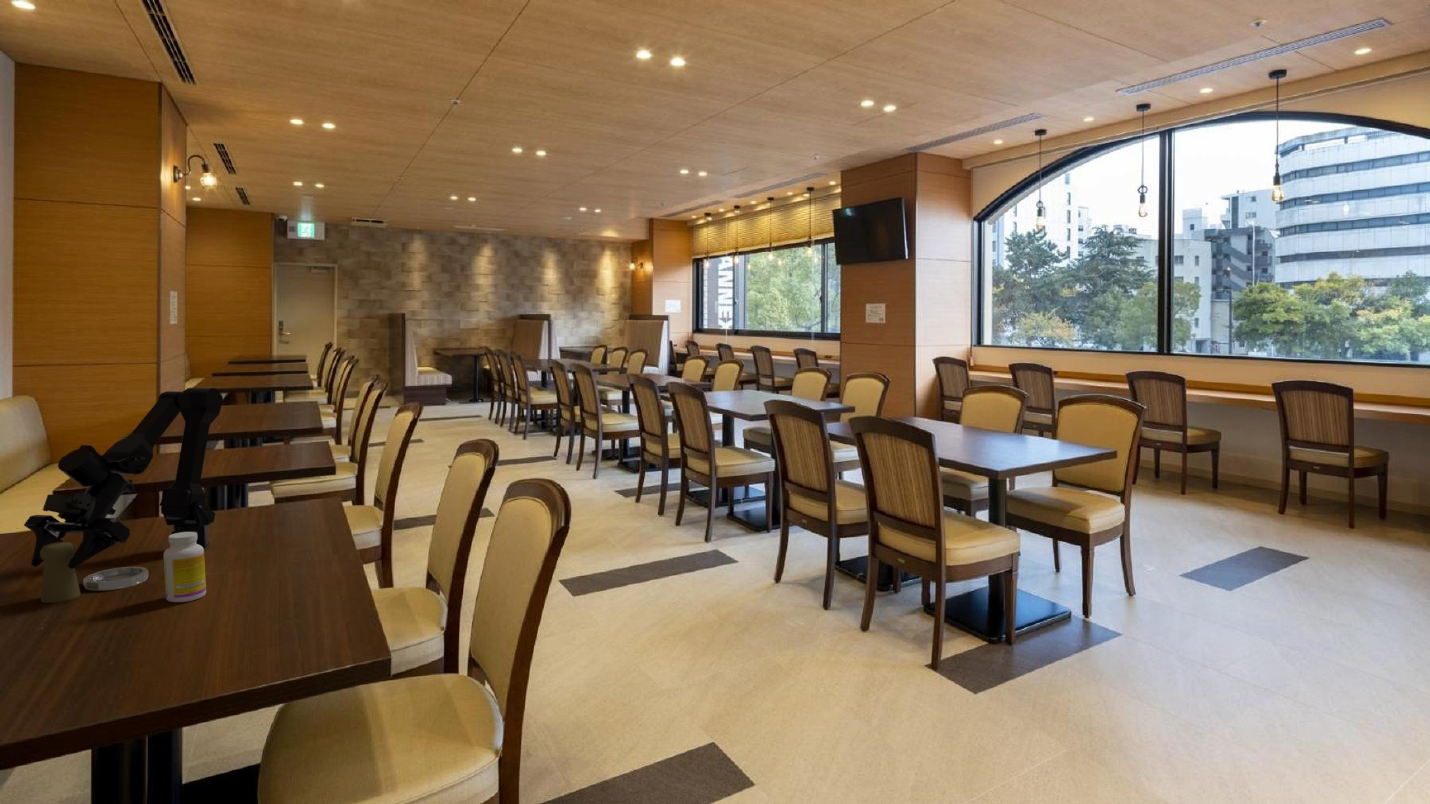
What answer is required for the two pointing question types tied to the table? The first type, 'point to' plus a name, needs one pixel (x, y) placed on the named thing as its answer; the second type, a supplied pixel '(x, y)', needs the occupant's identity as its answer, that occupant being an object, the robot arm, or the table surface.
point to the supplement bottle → (184, 568)
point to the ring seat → (115, 578)
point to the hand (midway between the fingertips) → (51, 566)
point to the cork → (58, 573)
